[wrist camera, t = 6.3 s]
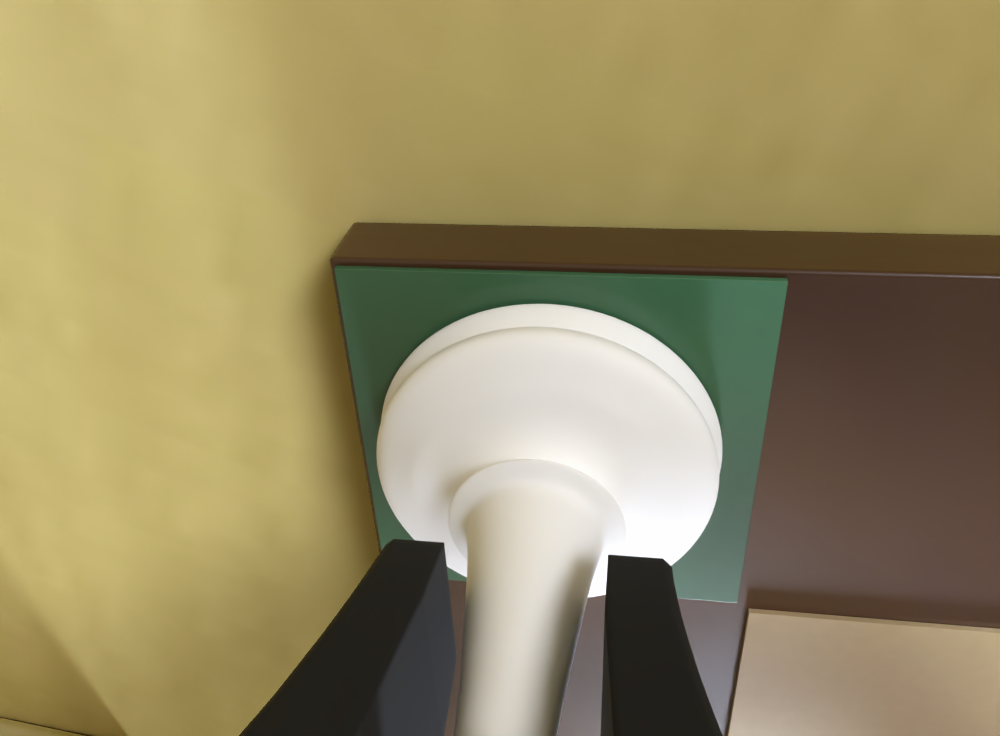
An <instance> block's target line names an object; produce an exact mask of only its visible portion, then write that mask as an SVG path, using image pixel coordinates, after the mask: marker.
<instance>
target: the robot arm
mask: <svg viewBox="0 0 1000 736" xmlns="http://www.w3.org/2000/svg"><path fill="white" fill-rule="evenodd" d="M456 659H457V653H456V644H455V636H454V627H453V618H452V609H451V600H450V591H449V582H448V573H447V564H446V555H445V546H444V542H430V541H417V540H403V539H393V540H392V541H390V542H389V543H388V544H386V545H385V547H384V548H383V550H382V551H381V553H380V554H379V556H378V557H377V559H376V560H375V562H374V563H373V564H372V566H371V567H370V569H369V570H368V572H367V573H366V575H365V576H364V577H363V579H362V580H361V582H360V583H359V585H358V586H357V588H356V589H355V590H354V592H353V593H352V595H351V596H350V597H349V599H348V600H347V601H346V603H345V604H344V606H343V607H342V608H341V610H340V611H339V612H338V614H337V615H336V616H335V618H334V619H333V620H332V622H331V623H330V624H329V626H328V627H327V629H326V630H325V631H324V633H323V634H322V635H321V637H320V638H319V639H318V640H317V642H316V643H315V644H314V645H313V647H312V648H311V649H310V650H309V652H308V653H307V654H306V656H305V657H304V658H303V659H302V661H301V662H300V663H299V664H298V666H297V667H296V668H295V669H294V671H293V672H292V673H291V674H290V676H289V677H288V678H287V680H286V681H285V682H284V683H283V685H282V686H281V687H280V688H279V690H278V691H277V692H276V693H275V694H274V696H273V697H272V698H271V699H270V700H269V702H268V703H267V704H266V705H265V706H264V707H263V709H262V710H261V711H260V712H259V713H258V714H257V715H256V717H255V718H254V719H253V720H252V721H251V722H250V723H249V725H248V726H247V727H246V728H245V729H244V730H243V732H242V733H241V734H240V735H239V736H444V733H445V727H446V721H447V715H448V709H449V703H450V697H451V691H452V684H453V678H454V672H455V665H456ZM601 736H723V735H722V733H721V730H720V728H719V725H718V722H717V720H716V717H715V715H714V712H713V709H712V707H711V704H710V702H709V699H708V697H707V694H706V691H705V688H704V685H703V683H702V680H701V677H700V674H699V671H698V668H697V665H696V662H695V659H694V656H693V652H692V649H691V646H690V643H689V640H688V637H687V633H686V630H685V626H684V622H683V619H682V615H681V611H680V607H679V603H678V598H677V594H676V589H675V584H674V578H673V570H672V566H671V565H669V564H668V563H667V562H666V561H665V560H664V559H663V558H649V557H636V556H622V555H608V565H607V581H606V597H605V618H604V647H603V677H602V707H601Z"/></svg>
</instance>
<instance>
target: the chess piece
mask: <svg viewBox="0 0 1000 736" xmlns="http://www.w3.org/2000/svg"><path fill="white" fill-rule="evenodd" d="M376 454H377V468H378V474H379V478H380V482H381V486H382V489H383V491H384V494H385V497H386V499H387V501H388V503H389V505H390V507H391V509H392V511H393V513H394V514H395V516H396V517H397V519H398V520H399V522H400V523H401V525H402V526H403V527H404V529H405V530H406V531H407V532H408V533H409V535H410V536H411V537H412V538H413V539H414V540H417V541H430V542H444V546H445V555H446V564H447V567H449V568H450V569H452V570H454V571H456V572H457V573H459V574H461V575H463V576H465V577H467V585H466V601H465V617H464V634H463V647H462V660H461V675H460V687H459V695H458V703H457V711H456V721H455V731H454V736H557V733H558V727H559V722H560V717H561V711H562V706H563V701H564V696H565V692H566V688H567V684H568V680H569V675H570V671H571V666H572V662H573V657H574V653H575V649H576V645H577V641H578V637H579V632H580V628H581V624H582V620H583V616H584V612H585V607H586V603H587V599H588V597H595V596H601V595H606V581H607V565H608V555H622V556H636V557H649V558H663V559H664V560H665V561H666V562H667V563H668V564H669V565H673V564H674V563H675V562H676V561H678V560H679V559H680V558H681V557H682V556H683V555H684V554H685V553H686V552H687V551H688V550H689V549H690V548H691V547H692V546H693V545H694V543H695V542H696V541H697V540H698V538H699V537H700V535H701V534H702V532H703V531H704V529H705V527H706V525H707V524H708V522H709V519H710V517H711V515H712V512H713V510H714V507H715V503H716V499H717V495H718V488H719V474H720V470H721V464H722V436H721V429H720V425H719V421H718V417H717V414H716V411H715V408H714V406H713V404H712V401H711V399H710V397H709V395H708V394H707V392H706V390H705V388H704V387H703V385H702V384H701V382H700V381H699V379H698V378H697V377H696V375H695V374H694V373H693V371H692V370H691V369H690V368H689V367H688V366H687V365H686V364H685V362H684V361H683V360H682V359H681V358H679V357H678V356H677V355H676V354H675V353H674V352H673V351H672V350H670V349H669V348H668V347H667V346H665V345H664V344H663V343H661V342H660V341H659V340H657V339H656V338H654V337H653V336H651V335H649V334H648V333H646V332H644V331H643V330H641V329H639V328H637V327H635V326H633V325H631V324H629V323H627V322H624V321H622V320H620V319H617V318H614V317H612V316H609V315H606V314H603V313H599V312H596V311H592V310H588V309H583V308H578V307H573V306H566V305H556V304H520V305H511V306H504V307H499V308H494V309H490V310H486V311H482V312H479V313H476V314H473V315H470V316H467V317H465V318H462V319H460V320H458V321H456V322H453V323H451V324H450V325H448V326H446V327H444V328H442V329H441V330H439V331H438V332H436V333H435V334H433V335H432V336H430V337H429V338H428V339H426V340H425V341H424V342H423V343H422V344H420V345H419V346H418V347H417V348H416V349H415V350H414V351H413V352H412V353H411V354H410V355H409V356H408V358H407V359H406V360H405V361H404V363H403V364H402V365H401V367H400V368H399V370H398V371H397V373H396V375H395V376H394V378H393V380H392V382H391V384H390V387H389V389H388V392H387V394H386V397H385V401H384V405H383V410H382V417H381V424H380V428H379V432H378V438H377V452H376Z"/></svg>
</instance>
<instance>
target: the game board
mask: <svg viewBox="0 0 1000 736" xmlns="http://www.w3.org/2000/svg"><path fill="white" fill-rule="evenodd" d="M330 263H331V269H332V275H333V280H334V286H335V292H336V298H337V304H338V310H339V316H340V322H341V328H342V334H343V339H344V345H345V351H346V357H347V363H348V369H349V375H350V381H351V387H352V393H353V398H354V404H355V410H356V416H357V422H358V428H359V434H360V440H361V446H362V452H363V458H364V463H365V469H366V475H367V481H368V487H369V493H370V499H371V505H372V511H373V517H374V522H375V528H376V534H377V540H378V546H379V552H380V553H381V551H382V550H383V548H384V547H385V545H386V544H388V543H389V542H390V541H392V540H393V539H403V540H414V539H413V538H412V537H411V536H410V535H409V533H408V532H407V531H406V530H405V529H404V527H403V526H402V525H401V523H400V522H399V520H398V519H397V517H396V516H395V514H394V513H393V511H392V509H391V507H390V505H389V503H388V501H387V499H386V497H385V494H384V491H383V489H382V486H381V482H380V478H379V474H378V468H377V454H376V452H377V438H378V432H379V428H380V424H381V417H382V410H383V405H384V401H385V397H386V394H387V392H388V389H389V387H390V384H391V382H392V380H393V378H394V376H395V375H396V373H397V371H398V370H399V368H400V367H401V365H402V364H403V363H404V361H405V360H406V359H407V358H408V356H409V355H410V354H411V353H412V352H413V351H414V350H415V349H416V348H417V347H418V346H419V345H420V344H422V343H423V342H424V341H425V340H426V339H428V338H429V337H430V336H432V335H433V334H435V333H436V332H438V331H439V330H441V329H442V328H444V327H446V326H448V325H450V324H451V323H453V322H456V321H458V320H460V319H462V318H465V317H467V316H470V315H473V314H476V313H479V312H482V311H486V310H490V309H494V308H499V307H504V306H511V305H520V304H556V305H566V306H573V307H578V308H583V309H588V310H592V311H596V312H599V313H603V314H606V315H609V316H612V317H614V318H617V319H620V320H622V321H624V322H627V323H629V324H631V325H633V326H635V327H637V328H639V329H641V330H643V331H644V332H646V333H648V334H649V335H651V336H653V337H654V338H656V339H657V340H659V341H660V342H661V343H663V344H664V345H665V346H667V347H668V348H669V349H670V350H672V351H673V352H674V353H675V354H676V355H677V356H678V357H679V358H681V359H682V360H683V361H684V362H685V364H686V365H687V366H688V367H689V368H690V369H691V370H692V371H693V373H694V374H695V375H696V377H697V378H698V379H699V381H700V382H701V384H702V385H703V387H704V388H705V390H706V392H707V394H708V395H709V397H710V399H711V401H712V404H713V406H714V408H715V411H716V414H717V417H718V421H719V425H720V429H721V436H722V464H721V470H720V474H719V488H718V495H717V499H716V503H715V507H714V510H713V512H712V515H711V517H710V519H709V522H708V524H707V525H706V527H705V529H704V531H703V532H702V534H701V535H700V537H699V538H698V540H697V541H696V542H695V543H694V545H693V546H692V547H691V548H690V549H689V550H688V551H687V552H686V553H685V554H684V555H683V556H682V557H681V558H680V559H679V560H678V561H676V562H675V563H674V564H673V565H671V566H672V570H673V578H674V584H675V589H676V594H677V598H678V603H679V607H680V611H681V615H682V619H683V622H684V626H685V630H686V633H687V637H688V640H689V643H690V646H691V649H692V652H693V656H694V659H695V662H696V665H697V668H698V671H699V674H700V677H701V680H702V683H703V685H704V688H705V691H706V694H707V697H708V699H709V702H710V704H711V707H712V709H713V712H714V715H715V717H716V720H717V722H718V725H719V728H720V730H721V733H722V735H723V736H1000V236H997V235H947V234H898V233H848V232H799V231H749V230H700V229H650V228H601V227H551V226H502V225H452V224H403V223H354V224H353V225H352V227H351V228H350V230H349V231H348V233H347V234H346V236H345V237H344V239H343V240H342V242H341V243H340V245H339V246H338V248H337V249H336V251H335V252H334V254H333V255H332V257H331V259H330ZM447 573H448V582H449V591H450V600H451V609H452V618H453V627H454V636H455V644H456V653H457V659H456V665H455V672H454V678H453V684H452V691H451V697H450V703H449V709H448V715H447V721H446V727H445V733H444V736H454V731H455V721H456V711H457V703H458V695H459V687H460V675H461V660H462V647H463V634H464V617H465V601H466V585H467V577H465V576H463V575H461V574H459V573H457V572H456V571H454V570H452V569H450V568H449V567H447ZM605 597H606V595H601V596H595V597H588V599H587V603H586V607H585V612H584V616H583V620H582V624H581V628H580V632H579V637H578V641H577V645H576V649H575V653H574V657H573V662H572V666H571V671H570V675H569V680H568V684H567V688H566V692H565V696H564V701H563V706H562V711H561V717H560V722H559V727H558V733H557V736H601V707H602V677H603V647H604V618H605Z"/></svg>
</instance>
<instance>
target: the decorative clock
mask: <svg viewBox="0 0 1000 736" xmlns="http://www.w3.org/2000/svg"><path fill="white" fill-rule="evenodd" d="M0 736H85V735H80V734H75V733H70V732H65V731H61V730H56V729H51V728H46V727H42V726H37V725H32V724H27V723H23V722H18V721H13V720H8V719H3V718H0Z"/></svg>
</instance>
